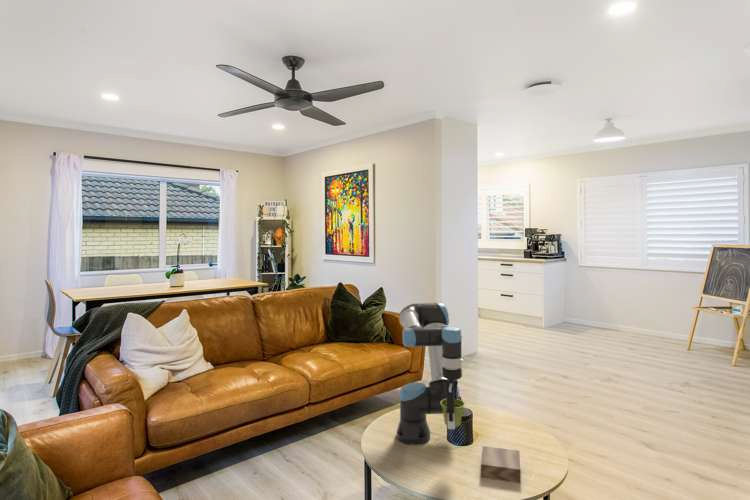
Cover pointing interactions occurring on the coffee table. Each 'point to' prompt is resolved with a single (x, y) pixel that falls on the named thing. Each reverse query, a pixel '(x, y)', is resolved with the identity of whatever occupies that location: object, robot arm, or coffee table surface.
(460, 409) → the plant pot
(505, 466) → the block
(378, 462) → the coffee table surface
